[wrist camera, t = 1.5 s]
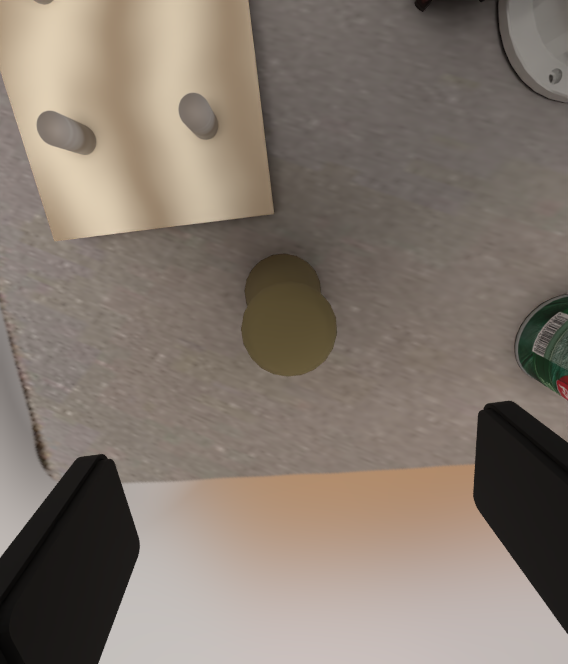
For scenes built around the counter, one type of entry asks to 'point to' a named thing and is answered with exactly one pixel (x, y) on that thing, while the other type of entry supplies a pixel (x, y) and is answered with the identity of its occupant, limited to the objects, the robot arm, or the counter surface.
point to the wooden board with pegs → (137, 111)
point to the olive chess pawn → (287, 317)
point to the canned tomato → (546, 345)
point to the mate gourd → (425, 4)
